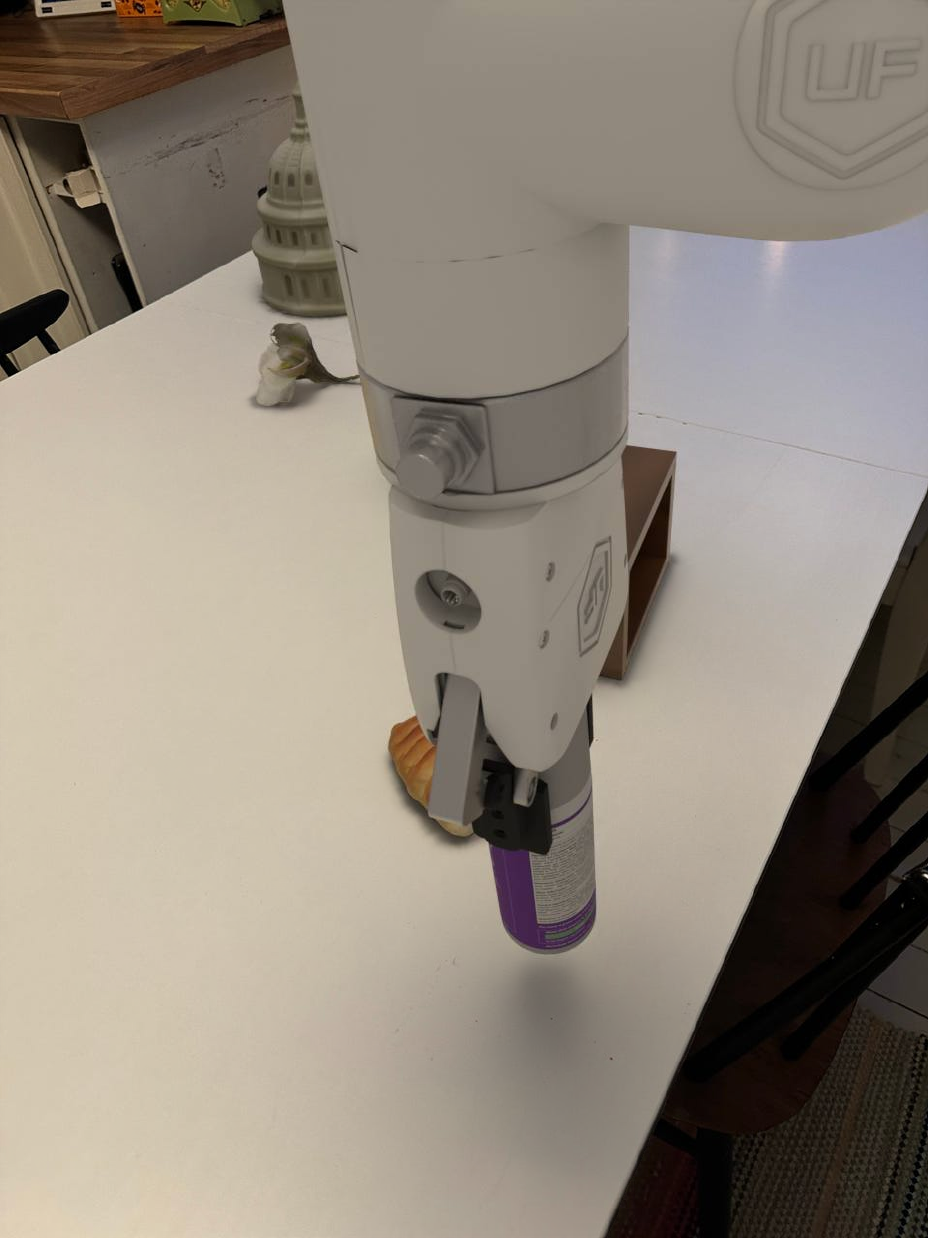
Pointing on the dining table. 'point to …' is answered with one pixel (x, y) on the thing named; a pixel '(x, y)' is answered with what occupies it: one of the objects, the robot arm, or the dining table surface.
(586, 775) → the container
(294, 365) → the artificial flower
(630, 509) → the shelf
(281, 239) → the dome
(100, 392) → the dining table surface
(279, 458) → the dining table surface
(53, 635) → the dining table surface
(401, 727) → the pastry
